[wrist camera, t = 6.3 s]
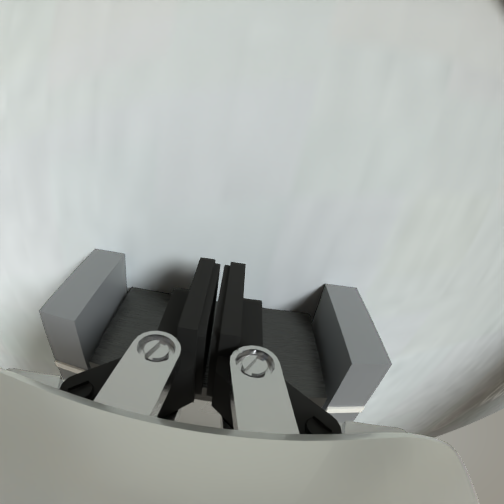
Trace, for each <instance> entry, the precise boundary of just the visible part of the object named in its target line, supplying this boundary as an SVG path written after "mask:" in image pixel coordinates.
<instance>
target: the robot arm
mask: <svg viewBox="0 0 504 504" xmlns="http://www.w3.org/2000/svg"><path fill="white" fill-rule="evenodd" d="M219 272H220V264H215V260H214V259H208V258H200V261H199V264H198V267H197V270H196V272H195V275H194V278H193V281H192V284H191V287H190V290H186V289H179V288H174V290H173V292H172V295H171V297H170V300H169V302H168V305H167V307H166V309H165V312H164V314H163V317H162V320H161V322H160V325H159V327H158V330H157V331H149V332H145V333H143V334H141V335H139V336H138V337H137V338H136V339H135V340H134V341H133V342H132V344H131V345H130V347H129V348H128V350H127V351H126V353H125V354H124V356H123V357H121V358H118V359H116V360H113V361H110V362H108V363H105V364H102V365H100V366H97V367H94V368H92V369H89V370H86V371H83V372H81V373H78V374H75V375H72V376H71V377H69V378H67V379H66V380H63V379H62V378H61V376H57V375H50V374H43V373H37V372H31V371H25V370H20V369H6V370H5V369H2V368H0V504H479V501H478V498H477V495H476V492H475V489H474V486H473V483H472V480H471V478H470V475H469V473H468V471H467V469H466V467H465V465H464V462H463V461H462V459H461V457H460V456H459V454H458V453H457V451H456V450H455V449H454V448H453V447H452V446H451V445H449V444H448V443H446V442H444V441H442V440H439V439H436V438H433V437H429V436H425V435H420V434H411V433H407V432H406V431H404V430H403V429H400V428H396V427H387V426H380V425H372V424H365V423H359V422H353V421H347V420H346V421H345V422H344V423H340V422H338V421H337V420H336V419H335V418H334V417H333V416H332V415H330V414H329V413H328V412H326V411H325V410H324V409H322V408H321V407H320V406H318V405H317V404H315V403H314V402H313V401H311V400H310V399H309V398H307V397H306V396H305V395H303V394H302V393H301V392H300V391H298V390H297V389H296V388H294V387H293V386H292V385H290V384H289V383H288V382H287V381H285V380H284V376H283V373H282V369H281V365H280V362H279V360H278V358H277V357H276V356H275V355H274V354H273V353H272V352H271V351H269V350H268V349H266V348H263V328H262V301H260V300H253V299H245V298H243V294H244V279H245V264H241V263H235V262H231V266H229V265H225V267H224V272H223V277H222V283H221V288H220V293H219V299H218V304H217V310H216V316H215V321H214V314H215V305H216V297H217V288H218V280H219ZM213 323H214V327H213ZM212 329H213V334H212ZM211 335H212V342H211V351H210V361H209V371H208V382H207V392H206V396H211V397H212V404H211V406H212V407H213V408H214V409H215V410H216V411H217V412H218V413H219V414H220V415H221V417H220V424H221V428H214V427H207V426H200V425H194V424H188V423H182V422H178V419H179V417H180V414H181V410H182V407H184V406H186V405H188V404H190V403H192V402H193V403H194V399H195V394H198V395H201V394H202V388H203V382H204V376H205V370H206V364H207V358H208V352H209V346H210V341H211Z"/></svg>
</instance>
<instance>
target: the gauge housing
mask: <svg viewBox="0 0 504 504" xmlns="http://www.w3.org/2000/svg"><path fill="white" fill-rule="evenodd" d="M126 296H127V284H126V267H125V254H123V253H117V252H111V251H105V250H99V249H95V250H94V251H93V252H92V253H91V254H90V255H89V256H88V257H87V258H86V259H85V260H84V261H83V262H82V263H81V264H80V265H79V266H78V267H77V269H76V270H75V271H74V272H73V273H72V274H71V275H70V276H69V277H68V278H67V279H66V280H65V282H64V283H63V284H62V285H61V286H60V287H59V288H58V289H57V291H56V292H55V293H54V294H53V295H52V296H51V297H50V299H49V300H48V301H47V302H46V303H45V304H44V306H43V307H42V308H41V309H40V310H39V312H40V315H41V319H42V322H43V325H44V328H45V332H46V335H47V338H48V341H49V343H50V346H51V349H52V352H53V355H54V357H55V361H54V362H55V364H56V366H57V367H58V368H59V370H60V373H61V375H62V377H63V380H66V379H67V378H69V377H71V376H72V375H75V374H78V373H81V372H83V371H86V370H89V369H91V366H90V363H89V361H90V359H91V357H92V356H93V354H94V352H95V350H96V348H97V346H98V345H99V343H100V341H101V339H102V337H103V335H104V334H105V332H106V330H107V328H108V327H109V325H110V323H111V321H112V320H113V318H114V316H115V314H116V313H117V311H118V309H119V308H120V306H121V304H122V303H123V301H124V299H125V298H126ZM312 327H313V332H314V336H315V341H316V345H317V350H318V355H319V359H320V364H321V369H322V374H323V379H324V383H325V388H326V393H327V400H326V401H325V403H324V405H323V407H322V409H324V410H325V411H326V412H328V413H329V414H330V415H332V416H333V417H334V418H335V419H336V420H337V421H338V422H340V423H344V422H345V421H346V420H347V421H353V420H354V419H355V418H356V416H357V415H358V414H359V412H362V411H363V409H364V405H365V404H366V403H367V401H368V400H369V398H370V397H371V395H372V394H373V392H374V391H375V390H376V388H377V387H378V385H379V383H380V382H381V380H382V379H383V377H384V376H385V374H386V373H387V371H388V369H389V368H390V366H391V365H392V363H391V361H390V359H389V357H388V354H387V352H386V350H385V347H384V345H383V343H382V341H381V338H380V336H379V334H378V332H377V330H376V328H375V325H374V323H373V321H372V319H371V317H370V315H369V313H368V310H367V308H366V306H365V304H364V302H363V300H362V298H361V296H360V294H359V292H358V290H357V288H353V287H345V286H338V285H330V284H325V287H324V290H323V293H322V296H321V299H320V302H319V305H318V308H317V311H316V313H315V316H314V319H313V322H312Z"/></svg>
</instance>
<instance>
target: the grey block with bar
mask: <svg viewBox="0 0 504 504" xmlns="http://www.w3.org/2000/svg"><path fill="white" fill-rule="evenodd" d="M171 295H172V294H167V293H161V292H155V291H150V290H144V289H139V288H134V287H132V288H131V289H130V291H129V293H128V294H127V296H126V298H125V299H124V301H123V303H122V304H121V306H120V308H119V309H118V311H117V313H116V314H115V316H114V318H113V320H112V321H111V323H110V325H109V327H108V328H107V330H106V332H105V334H104V335H103V337H102V339H101V341H100V343H99V345H98V346H97V348H96V350H95V352H94V354H93V356H92V357H91V359H90V361H89V363H90V366H91V369H92V368H94V367H97V366H100V365H102V364H105V363H108V362H110V361H113V360H116V359H118V358H121V357H123V356H124V354H125V353H126V351H127V350H128V348H129V347H130V345H131V344H132V342H133V341H134V340H135V339H136V338H137V337H138V336H139V335H141V334H143V333H145V332H149V331H157V330H158V327H159V325H160V322H161V320H162V317H163V314H164V312H165V309H166V307H167V305H168V302H169V300H170V297H171ZM217 304H218V302H216V305H215V314H214V321H215V316H216V310H217ZM213 327H214V323H213ZM262 328H263V348H266V349H268V350H269V351H271V352H272V353H273V354H274V355H275V356H276V357H277V358H278V360H279V362H280V365H281V369H282V373H283V376H284V380H285V381H287V382H288V383H289V384H290V385H292V386H293V387H294V388H296V389H297V390H298V391H300V392H301V393H302V394H303V395H305V396H306V397H307V398H309V399H310V400H311V401H313V402H314V403H315V404H317V405H318V406H320V407H321V408H322V407H323V405H324V403H325V401H326V400H327V393H326V388H325V383H324V379H323V374H322V369H321V364H320V359H319V355H318V350H317V345H316V341H315V336H314V332H313V327H312V323H311V318H310V314H307V313H298V312H290V311H281V310H273V309H266V308H262ZM212 334H213V329H212ZM211 342H212V335H211V341H210V346H209V352H208V358H207V364H206V370H205V376H204V382H203V388H202V394H201V395H198V394H195V399H194V403H193V402H192V403H190V404H188V405H186V406H184V407H182V410H181V414H180V417H179V419H178V422H182V423H188V424H194V425H200V426H207V427H214V428H221V424H220V417H221V415H220V414H219V413H218V412H217V411H216V410H215V409H214V408H213V407H212V406H211V404H212V397H211V396H206V392H207V382H208V371H209V361H210V351H211Z"/></svg>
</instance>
